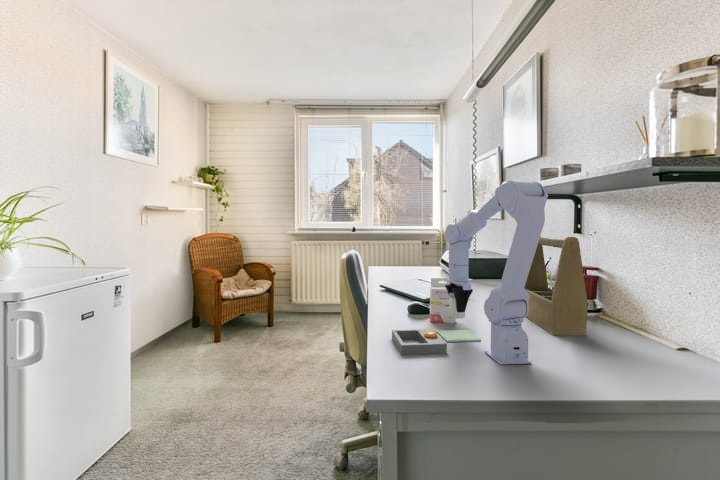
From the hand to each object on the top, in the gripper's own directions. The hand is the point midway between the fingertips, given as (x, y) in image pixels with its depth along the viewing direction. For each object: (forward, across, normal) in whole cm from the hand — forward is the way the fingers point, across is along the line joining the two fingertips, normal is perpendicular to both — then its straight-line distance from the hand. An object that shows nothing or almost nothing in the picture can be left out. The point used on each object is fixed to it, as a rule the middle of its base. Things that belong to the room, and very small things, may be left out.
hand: (458, 310), depth 114 cm
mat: (+8, 0, 0) cm, 8 cm away
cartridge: (+2, 0, 0) cm, 2 cm away
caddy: (+8, +12, -36) cm, 39 cm away
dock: (+8, -7, +14) cm, 18 cm away
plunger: (+7, -7, +10) cm, 15 cm away
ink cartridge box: (+8, +18, -1) cm, 20 cm away
